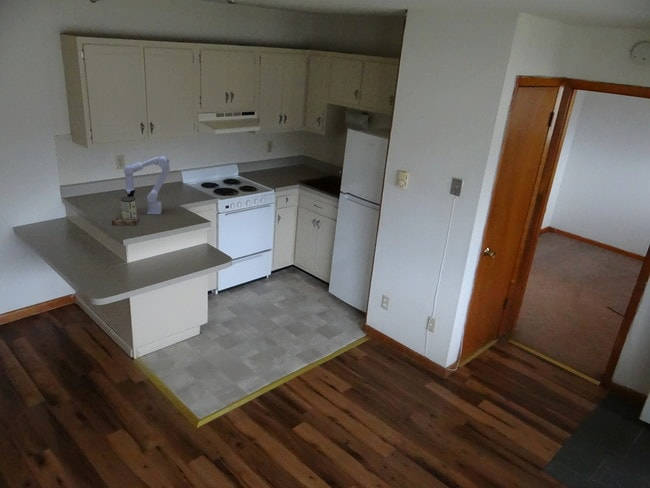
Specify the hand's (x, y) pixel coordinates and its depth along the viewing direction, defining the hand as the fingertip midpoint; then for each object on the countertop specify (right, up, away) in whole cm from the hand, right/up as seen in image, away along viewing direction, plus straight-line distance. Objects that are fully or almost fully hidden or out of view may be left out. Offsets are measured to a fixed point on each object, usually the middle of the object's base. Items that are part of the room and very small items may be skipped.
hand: (131, 200), depth 364 cm
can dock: (+2, -17, -16) cm, 23 cm away
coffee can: (+1, -13, -5) cm, 14 cm away
